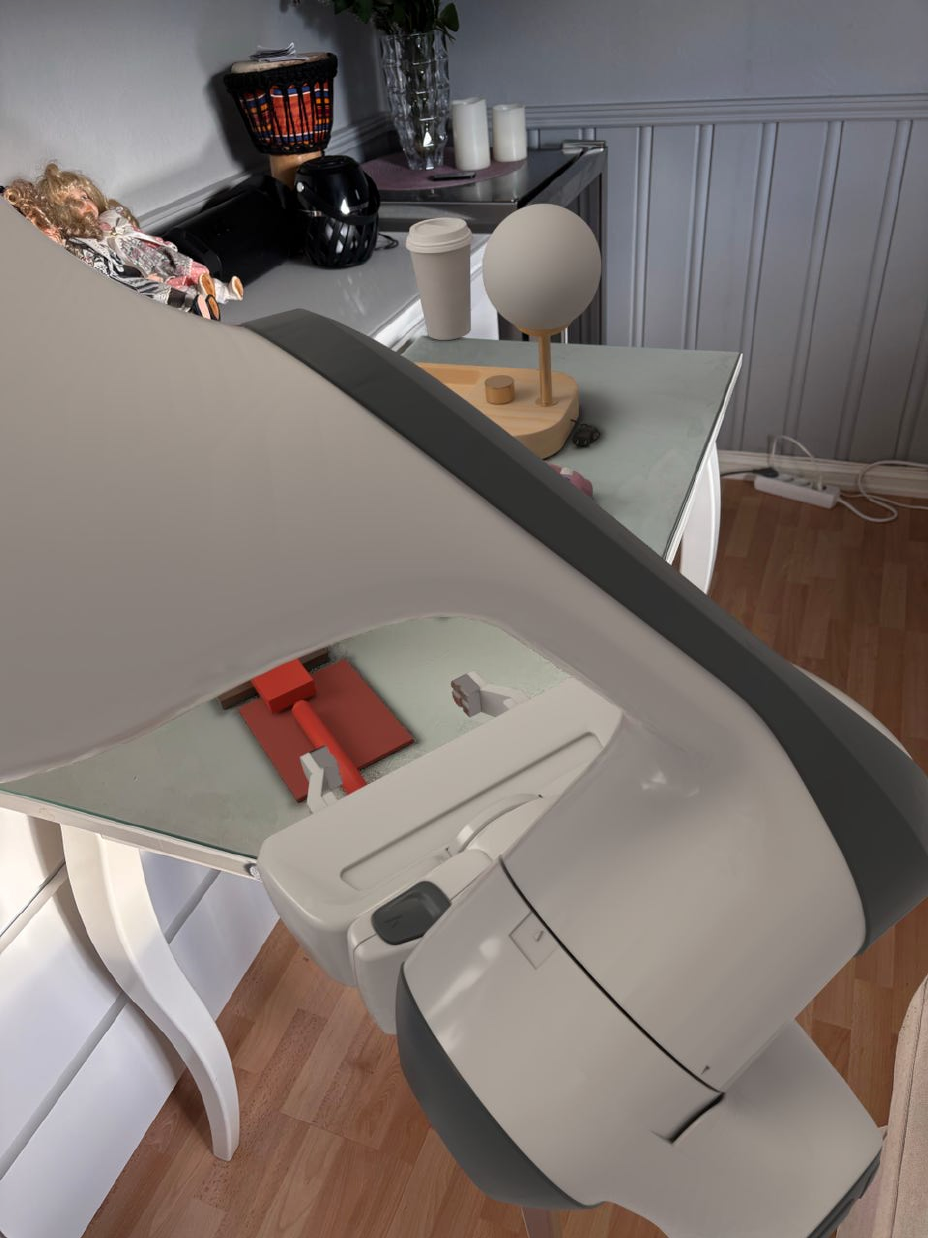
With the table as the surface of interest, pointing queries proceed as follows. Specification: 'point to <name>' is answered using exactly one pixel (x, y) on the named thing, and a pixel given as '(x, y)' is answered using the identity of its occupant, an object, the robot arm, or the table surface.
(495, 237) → the lamp
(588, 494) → the video game controller
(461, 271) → the coffee cup
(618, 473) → the table surface
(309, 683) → the red toy mallet
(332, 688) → the red mat
